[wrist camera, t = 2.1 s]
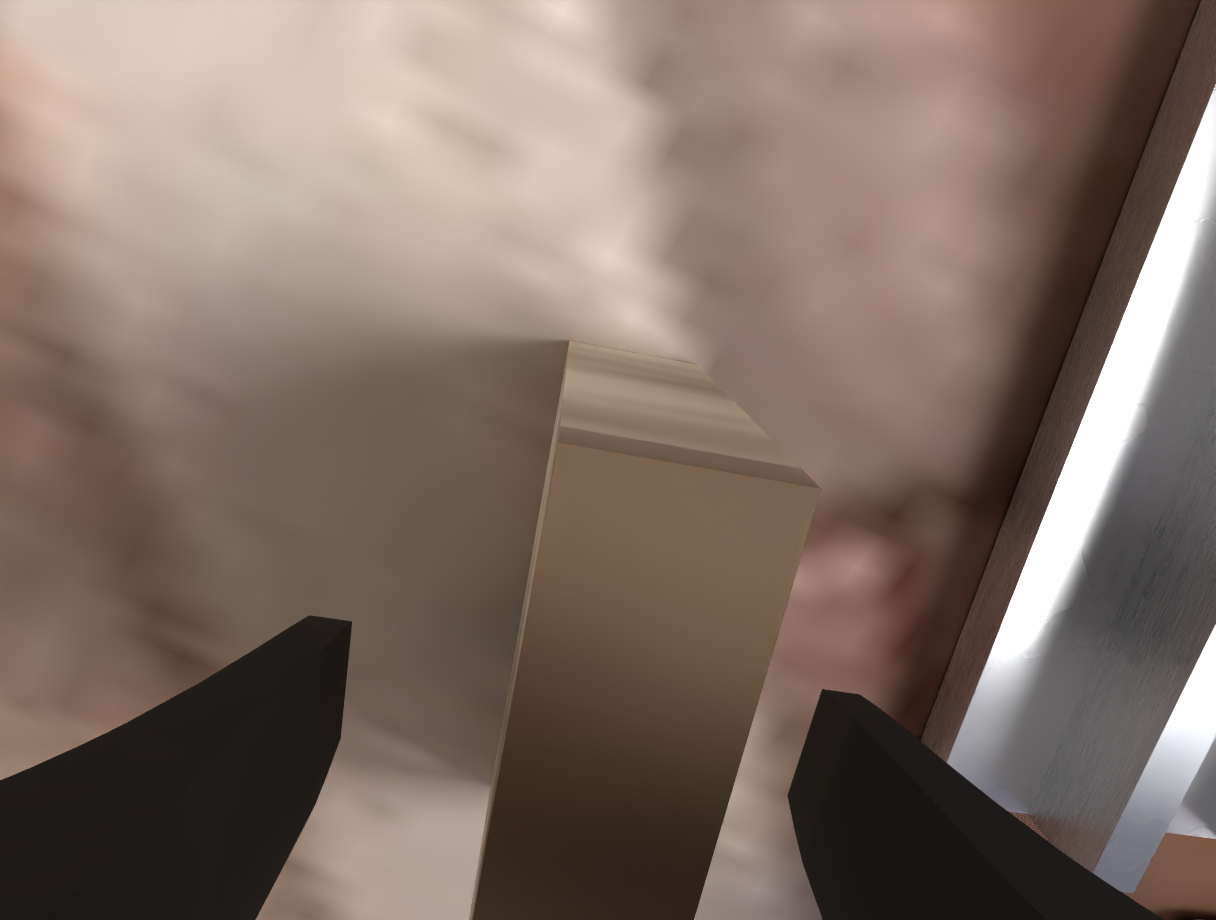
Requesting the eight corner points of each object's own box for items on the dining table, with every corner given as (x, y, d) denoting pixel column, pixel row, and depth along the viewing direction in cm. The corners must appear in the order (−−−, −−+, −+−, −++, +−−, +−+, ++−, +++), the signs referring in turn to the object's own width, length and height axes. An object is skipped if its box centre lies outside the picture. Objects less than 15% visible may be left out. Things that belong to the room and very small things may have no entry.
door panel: (597, 797, 16) (610, 1202, 9) (491, 784, 16) (425, 1188, 9) (696, 364, 13) (821, 488, 6) (569, 339, 13) (557, 442, 6)
